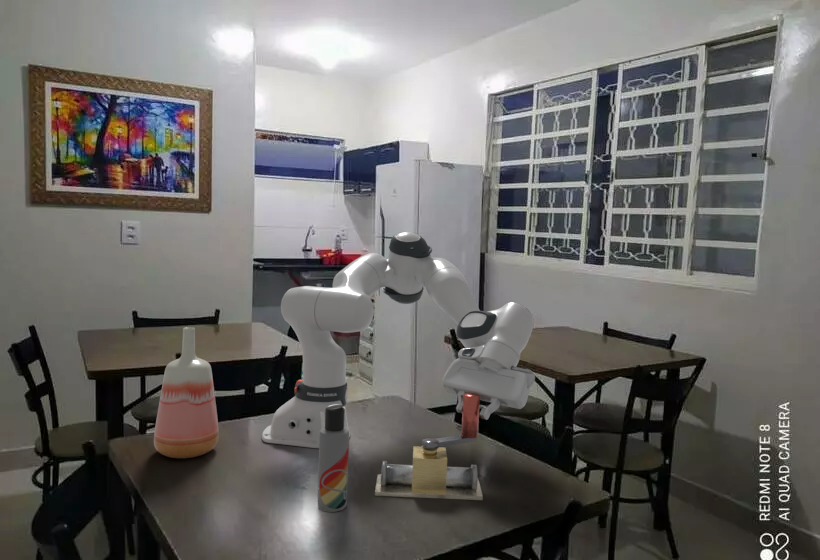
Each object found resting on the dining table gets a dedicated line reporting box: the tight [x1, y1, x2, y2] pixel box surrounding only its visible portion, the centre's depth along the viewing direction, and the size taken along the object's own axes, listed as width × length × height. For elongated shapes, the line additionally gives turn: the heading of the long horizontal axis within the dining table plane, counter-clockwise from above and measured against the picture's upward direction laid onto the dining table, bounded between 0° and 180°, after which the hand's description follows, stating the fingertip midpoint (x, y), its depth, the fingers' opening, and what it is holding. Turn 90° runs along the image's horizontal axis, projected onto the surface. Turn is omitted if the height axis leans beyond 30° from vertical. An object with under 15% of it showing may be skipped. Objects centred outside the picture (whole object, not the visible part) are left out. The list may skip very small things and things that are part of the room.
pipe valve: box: [374, 445, 484, 501], centre depth 127 cm, size 22×9×9 cm, turn 89°
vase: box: [153, 326, 220, 459], centre depth 142 cm, size 14×14×30 cm
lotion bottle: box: [317, 405, 350, 513], centre depth 117 cm, size 6×6×20 cm
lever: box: [421, 393, 481, 450], centre depth 129 cm, size 14×4×10 cm, turn 119°
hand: (471, 414), depth 131 cm, fingers open, 5 cm apart
